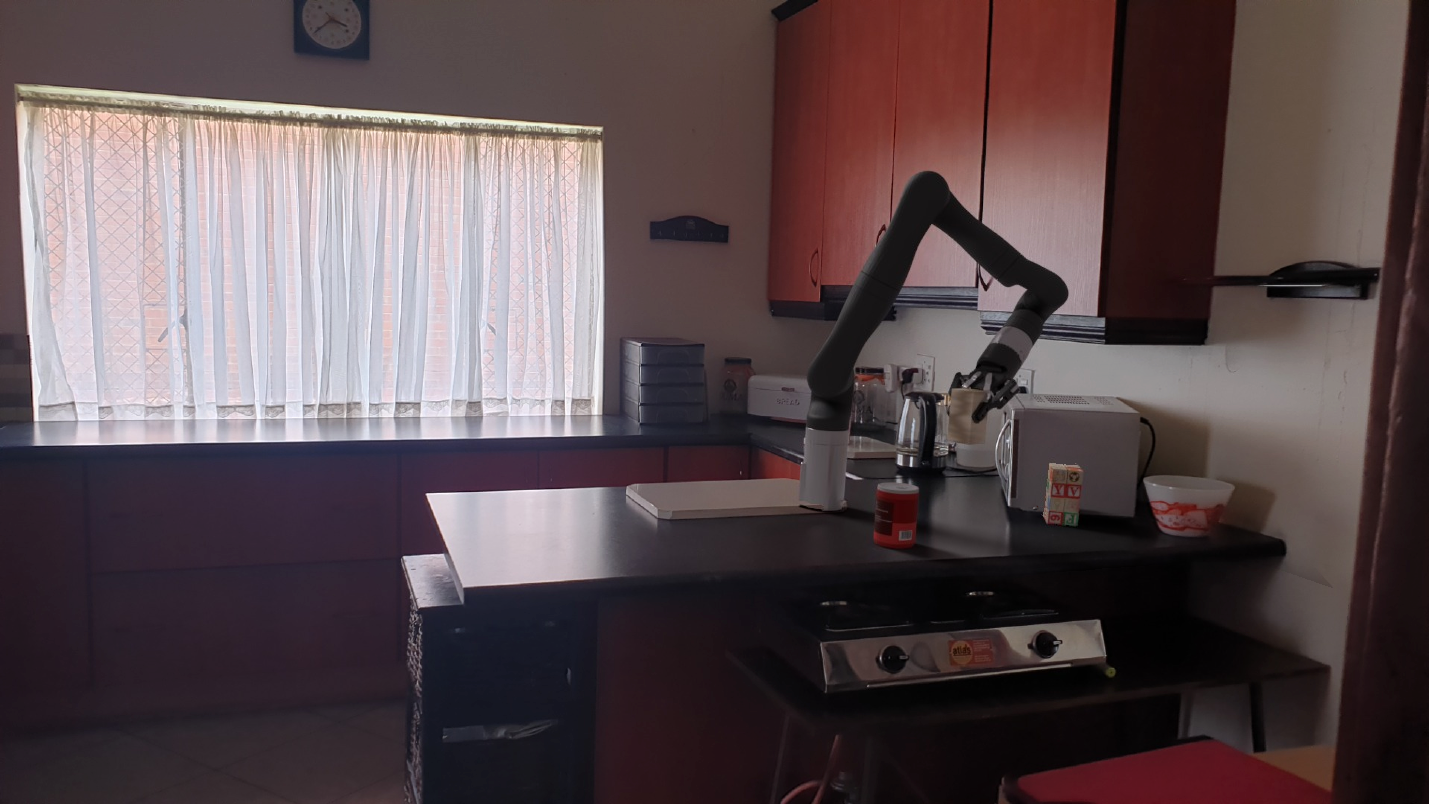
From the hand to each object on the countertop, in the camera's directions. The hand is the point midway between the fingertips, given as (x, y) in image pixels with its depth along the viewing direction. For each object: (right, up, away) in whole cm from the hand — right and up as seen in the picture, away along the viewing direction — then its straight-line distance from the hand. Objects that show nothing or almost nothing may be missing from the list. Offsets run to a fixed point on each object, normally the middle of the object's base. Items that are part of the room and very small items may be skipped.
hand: (962, 418), depth 188 cm
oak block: (+1, -5, +2) cm, 5 cm away
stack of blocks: (+29, -22, +34) cm, 50 cm away
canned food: (-13, -24, -1) cm, 27 cm away
